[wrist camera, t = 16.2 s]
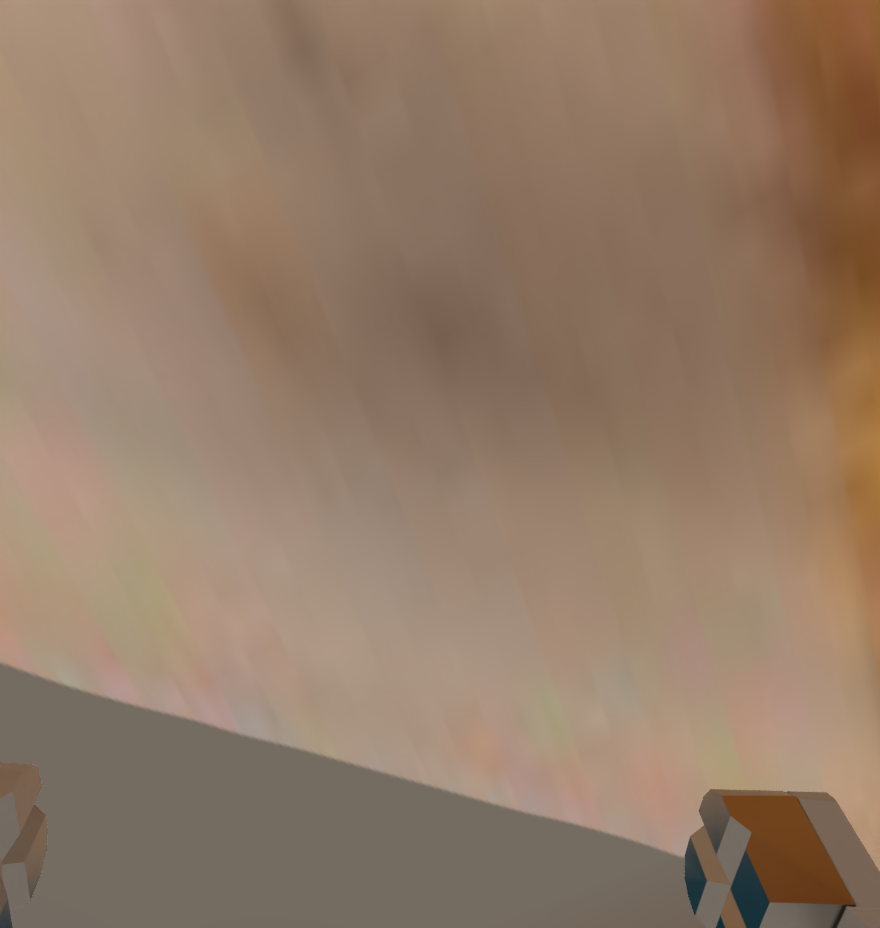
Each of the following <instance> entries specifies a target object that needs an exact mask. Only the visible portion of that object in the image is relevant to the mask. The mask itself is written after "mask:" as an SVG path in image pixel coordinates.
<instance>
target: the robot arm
mask: <svg viewBox="0 0 880 928" xmlns="http://www.w3.org/2000/svg"><path fill="white" fill-rule="evenodd" d="M41 788H42V784H41V779H40V774H39V768H38V767H37V766H35V765H32V764H19V763H3V762H0V928H13V927H12V921H11V916H12V915H13V914H14V913H16V912H17V911H18V910H19V909H21V908H22V907H23V906H24V905H26V904H27V903H28V902H29V901H30V900H31V898H32V895H33V893H34V891H35V888H36V886H37V883H38V881H39V878H40V875H41V871H42V867H43V863H44V859H45V855H46V851H47V835H48V829H47V820H46V815H45V814H44V813H43V812H42V811H41V810H40V809H39V808H38V807H36V806H35V805H34V803H35V801H36V799H37V797H38V795H39V793H40V791H41ZM699 813H700V815H701V818H702V820H703V823H704V826H703V827H701V828H700V829H699V830H698V831H696V832H695V833H694V834H692V835H691V836H690V839H689V842H688V846H687V850H686V853H685V882H686V888H687V893H688V897H689V900H690V903H691V906H692V909H693V912H694V915H695V917H696V918H697V919H699V921H700V922H701V923H702V924H703V925H705V927H707V928H880V872H879V870H878V868H877V867H876V865H875V864H874V862H873V860H872V859H871V857H870V855H869V854H868V852H867V850H866V849H865V847H864V846H863V844H862V842H861V841H860V839H859V837H858V836H857V834H856V832H855V831H854V829H853V828H852V826H851V824H850V823H849V821H848V819H847V818H846V816H845V814H844V813H843V811H842V810H841V808H840V806H839V805H838V803H837V801H836V800H835V799H834V798H833V797H831V796H830V795H829V794H828V793H824V792H791V791H788V792H783V791H762V790H724V789H710V790H709V791H708V792H707V793H706V794H705V796H704V797H703V800H702V803H701V806H700V808H699Z"/></svg>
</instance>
